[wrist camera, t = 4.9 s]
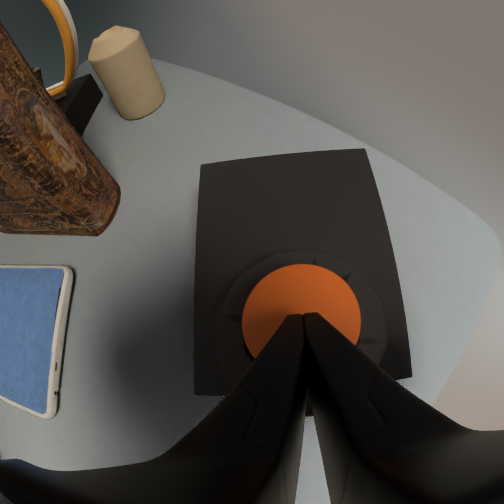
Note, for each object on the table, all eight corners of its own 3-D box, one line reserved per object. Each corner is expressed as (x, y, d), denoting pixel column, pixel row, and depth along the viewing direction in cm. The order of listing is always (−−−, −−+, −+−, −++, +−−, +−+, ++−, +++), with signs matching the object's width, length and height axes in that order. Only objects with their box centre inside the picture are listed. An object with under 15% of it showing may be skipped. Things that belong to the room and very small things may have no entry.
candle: (164, 111, 29) (128, 33, 20) (117, 126, 30) (74, 56, 21) (167, 83, 32) (138, 13, 23) (124, 97, 32) (90, 32, 23)
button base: (385, 394, 16) (428, 397, 10) (221, 408, 18) (180, 418, 11) (355, 195, 22) (369, 127, 16) (219, 208, 23) (192, 144, 17)
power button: (354, 375, 11) (367, 372, 9) (254, 383, 12) (243, 383, 10) (344, 281, 13) (353, 257, 11) (250, 289, 14) (240, 268, 11)
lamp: (11, 163, 32) (-111, 8, 3) (37, 116, 35) (-61, -32, 7) (104, 137, 29) (-32, -98, 1) (128, 87, 33) (32, -117, 4)
